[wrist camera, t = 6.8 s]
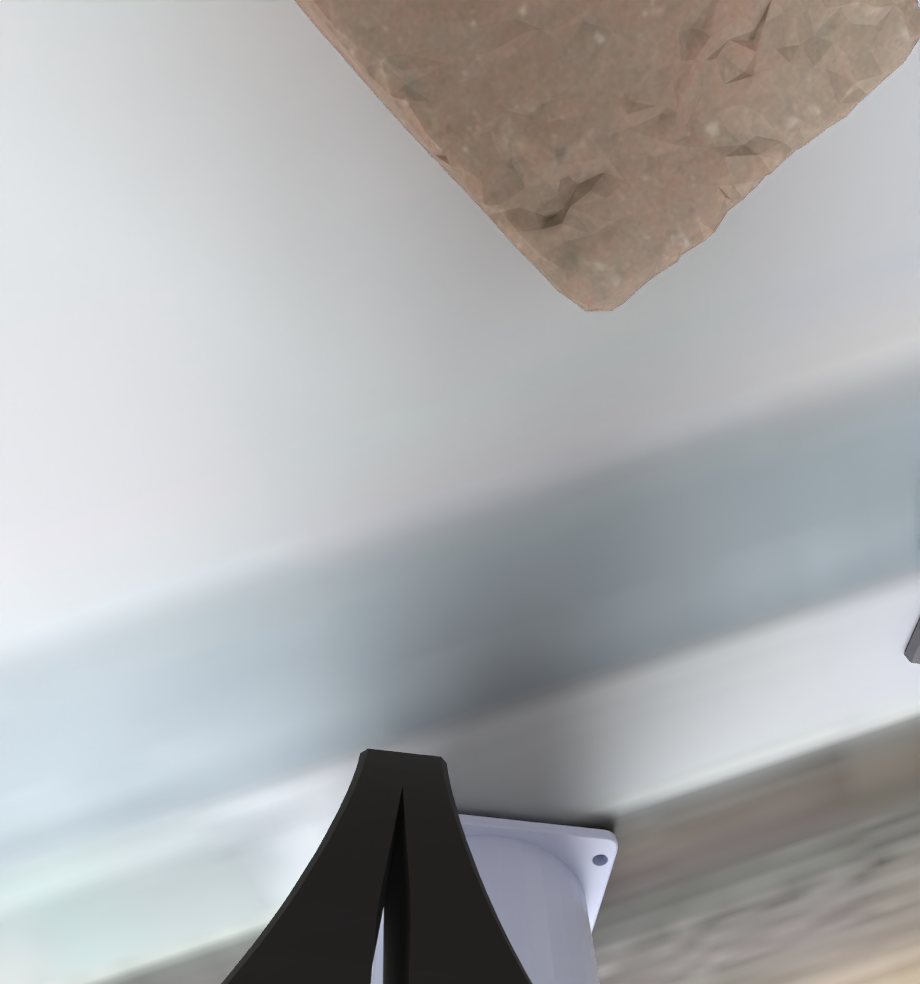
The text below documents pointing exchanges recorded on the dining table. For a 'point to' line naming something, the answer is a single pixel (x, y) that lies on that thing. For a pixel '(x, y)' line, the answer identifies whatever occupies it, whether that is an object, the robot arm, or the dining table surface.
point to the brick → (615, 110)
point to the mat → (914, 646)
